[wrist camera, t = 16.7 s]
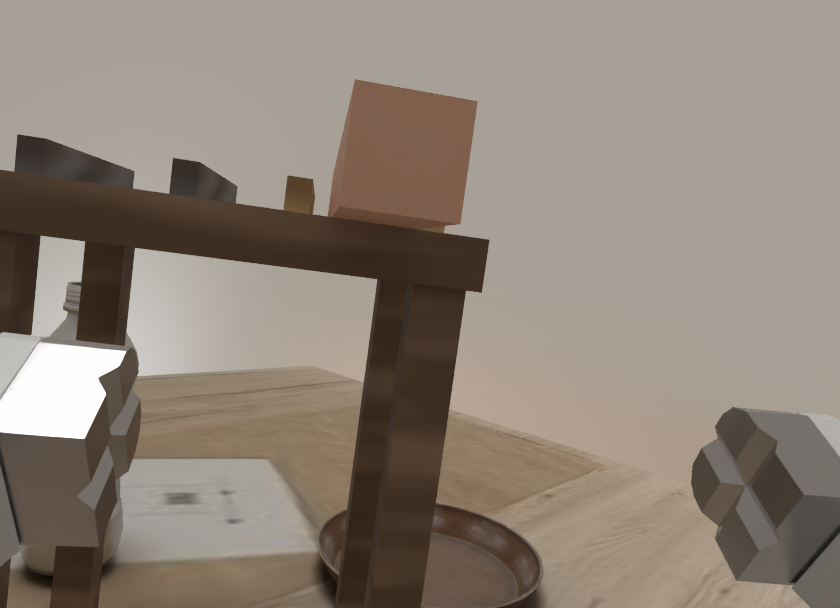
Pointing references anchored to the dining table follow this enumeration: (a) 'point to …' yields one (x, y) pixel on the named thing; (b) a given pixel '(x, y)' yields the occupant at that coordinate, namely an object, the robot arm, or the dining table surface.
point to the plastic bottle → (44, 556)
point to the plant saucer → (460, 560)
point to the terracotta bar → (402, 157)
